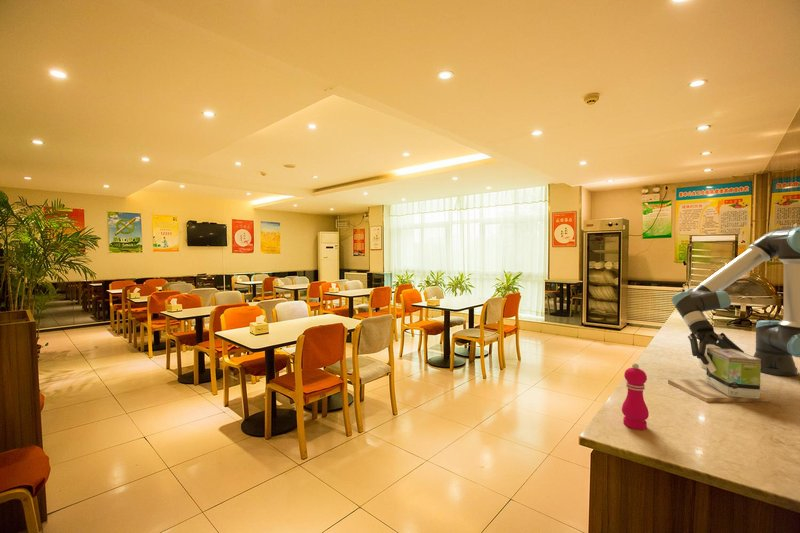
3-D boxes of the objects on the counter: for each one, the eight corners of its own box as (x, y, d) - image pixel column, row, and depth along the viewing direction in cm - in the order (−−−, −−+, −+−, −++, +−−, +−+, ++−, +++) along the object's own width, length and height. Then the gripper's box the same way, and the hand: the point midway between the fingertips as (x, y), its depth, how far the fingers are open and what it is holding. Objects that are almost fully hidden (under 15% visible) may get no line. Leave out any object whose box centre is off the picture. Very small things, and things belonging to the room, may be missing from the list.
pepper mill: (616, 420, 118) (617, 360, 118) (637, 419, 119) (637, 359, 118) (632, 431, 111) (633, 367, 110) (654, 430, 112) (655, 366, 111)
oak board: (723, 382, 151) (723, 379, 151) (769, 401, 132) (769, 397, 132) (668, 383, 151) (668, 379, 151) (706, 402, 132) (706, 397, 132)
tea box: (761, 399, 130) (762, 358, 129) (727, 397, 132) (728, 357, 132) (734, 384, 144) (735, 348, 144) (705, 382, 147) (705, 346, 146)
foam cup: (700, 369, 167) (700, 342, 167) (692, 364, 176) (693, 337, 175) (726, 372, 164) (726, 343, 163) (717, 366, 172) (717, 339, 172)
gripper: (721, 328, 157) (754, 375, 142) (665, 329, 157) (693, 376, 142) (732, 318, 151) (768, 366, 137) (675, 319, 151) (705, 367, 137)
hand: (730, 371), depth 139 cm, fingers closed on tea box, 12 cm apart
